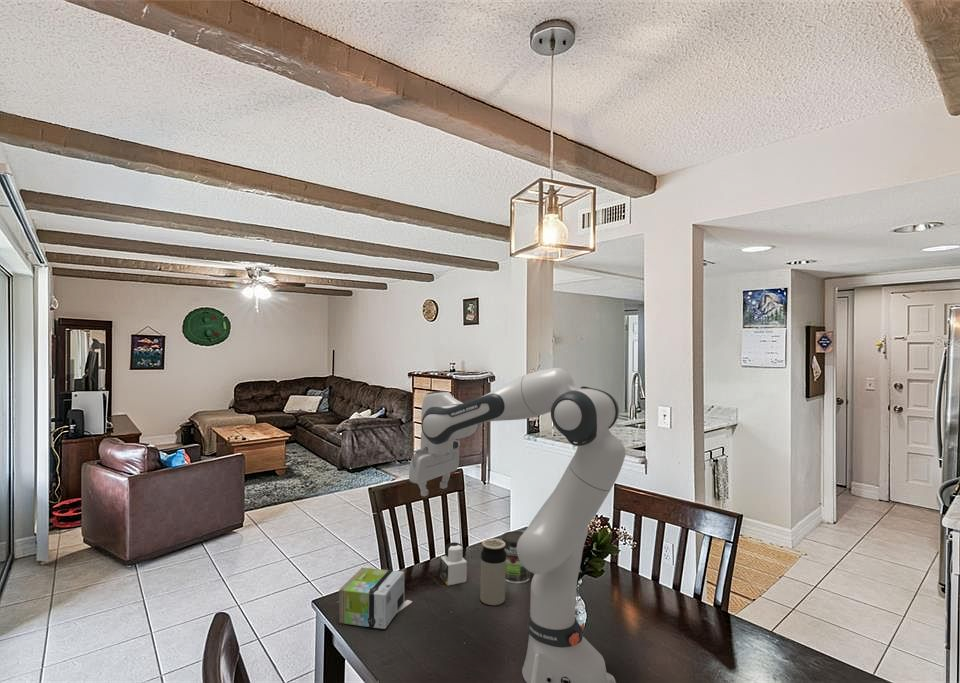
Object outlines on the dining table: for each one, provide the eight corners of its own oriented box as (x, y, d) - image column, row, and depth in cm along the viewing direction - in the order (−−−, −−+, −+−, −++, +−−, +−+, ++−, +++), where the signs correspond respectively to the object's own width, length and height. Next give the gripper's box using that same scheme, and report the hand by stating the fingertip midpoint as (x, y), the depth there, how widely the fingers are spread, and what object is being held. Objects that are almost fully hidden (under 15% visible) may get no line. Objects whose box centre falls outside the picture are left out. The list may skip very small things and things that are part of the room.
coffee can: (527, 586, 165) (528, 544, 165) (497, 581, 168) (498, 540, 168) (532, 572, 174) (533, 533, 175) (505, 568, 178) (505, 529, 178)
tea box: (385, 593, 137) (337, 589, 140) (386, 630, 137) (338, 625, 140) (404, 570, 152) (360, 566, 155) (405, 602, 151) (361, 598, 154)
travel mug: (501, 608, 150) (502, 549, 150) (476, 603, 153) (478, 545, 153) (507, 596, 158) (509, 540, 158) (484, 591, 160) (485, 536, 160)
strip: (412, 602, 152) (412, 601, 152) (374, 628, 138) (374, 627, 138) (407, 600, 153) (407, 599, 153) (369, 626, 139) (369, 625, 139)
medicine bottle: (439, 576, 170) (440, 542, 170) (458, 573, 173) (459, 539, 173) (447, 586, 163) (448, 550, 163) (466, 582, 166) (467, 547, 166)
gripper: (422, 452, 134) (420, 502, 134) (463, 441, 152) (461, 485, 152) (404, 449, 138) (403, 498, 137) (446, 438, 155) (445, 482, 155)
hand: (434, 491), depth 145 cm, fingers open, 8 cm apart
